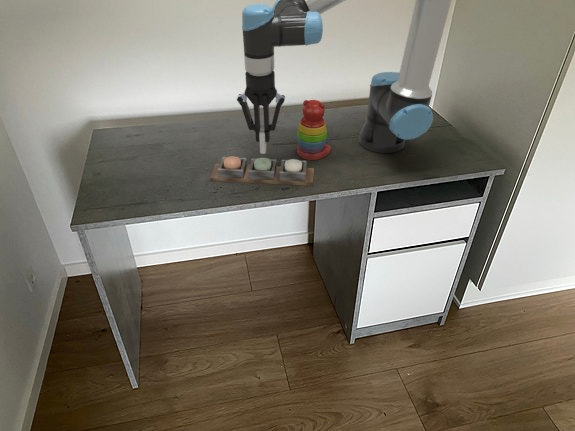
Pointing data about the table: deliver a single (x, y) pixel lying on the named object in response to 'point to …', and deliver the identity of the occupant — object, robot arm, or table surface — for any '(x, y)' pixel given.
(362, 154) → the table surface
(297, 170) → the ivory button
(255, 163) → the sage button
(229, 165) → the terracotta button
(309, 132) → the stacking bear
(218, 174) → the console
